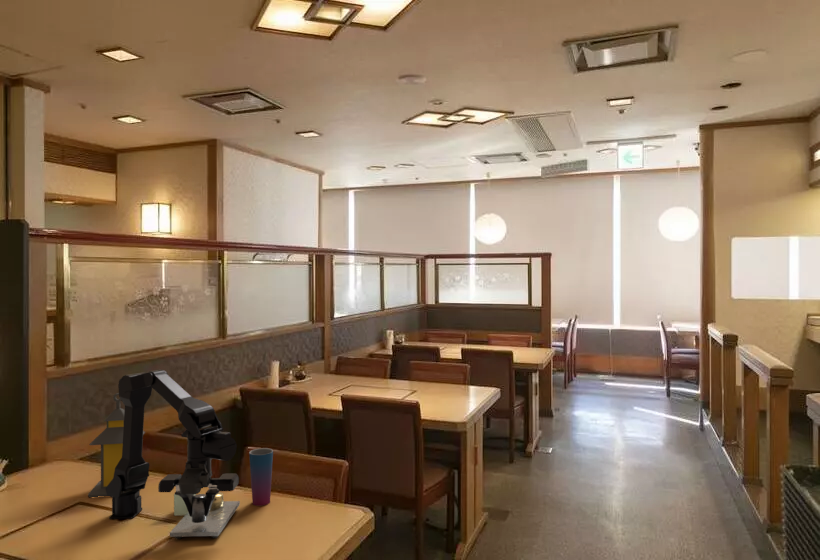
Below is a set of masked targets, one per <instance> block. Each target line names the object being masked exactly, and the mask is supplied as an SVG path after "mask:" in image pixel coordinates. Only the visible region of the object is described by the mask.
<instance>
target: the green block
mask: <svg viewBox="0 0 820 560" xmlns="http://www.w3.org/2000/svg"><path fill="white" fill-rule="evenodd" d="M194 495H197V494H194ZM187 513H188V510H187V507H186V505H185V502H184V501H183V499H182V497H180V496H179V495H175V493H174V494H173V516H185V515H186V514H187Z"/></svg>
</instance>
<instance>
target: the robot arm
mask: <svg viewBox="0 0 820 560" xmlns="http://www.w3.org/2000/svg"><path fill="white" fill-rule="evenodd" d="M117 386H118V393H119V395H118V396H119V399H121V400H122V401H121V402H122V403H123V405H124V410H125V412H124V430H123V448H122V458H121V459H120V461H119V462H118V464H117V466H116V467H115V471H114V477H113V479H112V481H111V482H110V483H109V484H108V486H107V487H106V493H107V496H110V498H111V515H109V517H108V518H109V519H110V520H113V519H114V520H115V519H133V518H134V517H136V516H137V515H138V514H139V513H140V512H142V510H143V507H142V495H140V491H141V490H144V489H145V487H146V483H147V481H148V479H149V477H150V472H149V471H150V463H149V462H146V460H145V459H144V457H143V442H144V441H143V440H144V439H143V438H144V434H143V431H144V423H145V407H146V404H147V403H148V401H149V400H150V397H151V396H152V393H153V390H154V391H155V392H156V393H157V394H158V395H159V396H160V397H162V398H163V400H165V401H166V402H167V403H168V404H169V405H170V406H171V407H172V408H173V409H174V410H175V411H176V412H177V417H178V421H180V423H181V424H182V426H183V428H185V430H184V431H183V432H182V433H181V434H180V436H181V437H182V438H186V439H187V440H186V443H187V445H186V448H187V450H186V451H187V452H186V453H187V457H186V458H187V460H186V462H185V466H184V467H185V468H184V471H183V473H182V474H181V473H173V474H172V473H171V474H170V473H169V474H166V475H165V477H163V478H162V479H161V480H160V481H159V482H158V487H157V488H158V492H159V493H171V492H172V491H174V489H175V492H174V494H175V495H179V496H180V497H182V499H183V501H184V502H185V505H186V507H187V510H188V512H189V515H190V517H192V496H194V494H196V495H197V494H200V493H201V490H202V489H203V488H208V489H207V491H206V492H205V493H204V494H206V508H205V515H206V516H208V515H209V512H210V509H211V506H212V503H213V501H214V498H215V496H216V494H218V493H219V492H232V491H234V490H235V489H236V487H237V486H238V485H239V479H240V478H239V475H238V474H237V473H236V472H235V473H232V472H231V473H222V475H220V477H212V476H213V471H212V460H213V459H214V460H217V461H218V460H219V461H223V462H224V461H225V462H229V461H231V460H232V459H233V458H234V456H235V455H236V453H237V448H238V447H237V446H238V444H237V442H236V440H235V439H234V438H233V437H231V435H232V434H231V432H230V431H229V432H228V431H224V427H223V425H222V423H221V421H220V420H219V417H218V416H217V414H216V411H215V409H214V407H213V406H212V405H211V404H209V403H208V402H206V401H204V400H201V399H198V398H195V397H193V396H192V395H190V394H189V393H188V392H187V391H186V390H185V389H184V388H182V386H181V385H179V383H177V382H176V381H175V380H174V379H173V378H172V377H171V376H170V375H169V373H168V372H167V370H164V369H156V370H149V371H147V372H146V371H143V372H138V373H136V372H135V373H131V374H126V375H123V376H122V377H121V378H120V379H119V381H118V385H117Z"/></svg>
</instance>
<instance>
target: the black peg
mask: <svg viewBox="0 0 820 560" xmlns="http://www.w3.org/2000/svg"><path fill="white" fill-rule="evenodd" d="M205 508H206V494H205V493H198V494H196V495H194V496H192V522H193V523H201V522H204V521H206V520H207V516H206V515H205Z"/></svg>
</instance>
